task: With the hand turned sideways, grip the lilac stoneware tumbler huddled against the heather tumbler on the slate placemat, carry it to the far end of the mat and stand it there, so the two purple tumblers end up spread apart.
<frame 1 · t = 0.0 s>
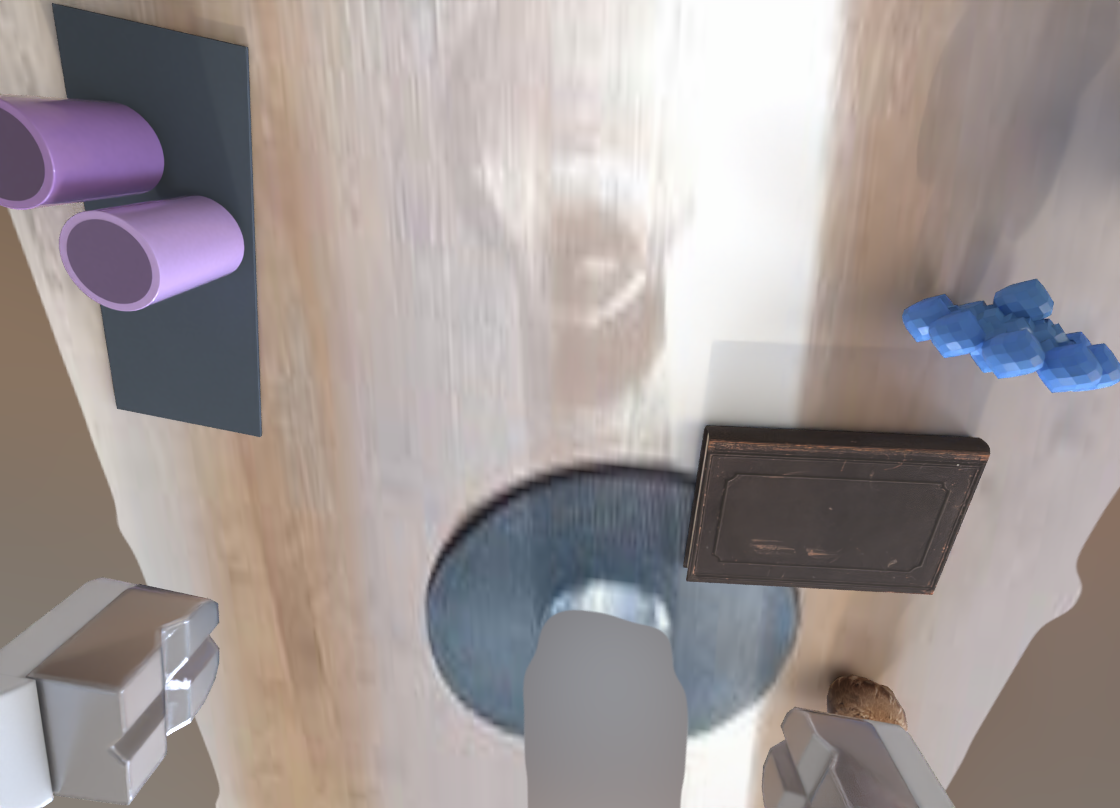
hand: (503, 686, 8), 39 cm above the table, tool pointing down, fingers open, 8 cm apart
hardcover book: (818, 503, 52), on the table
mushroom: (852, 686, 62), on the table
placemat: (174, 253, 45), on the table
grapes: (957, 303, 44), on the table
heather tumbler: (126, 148, 42), resting on placemat
lilac tumbler: (208, 236, 44), resting on placemat
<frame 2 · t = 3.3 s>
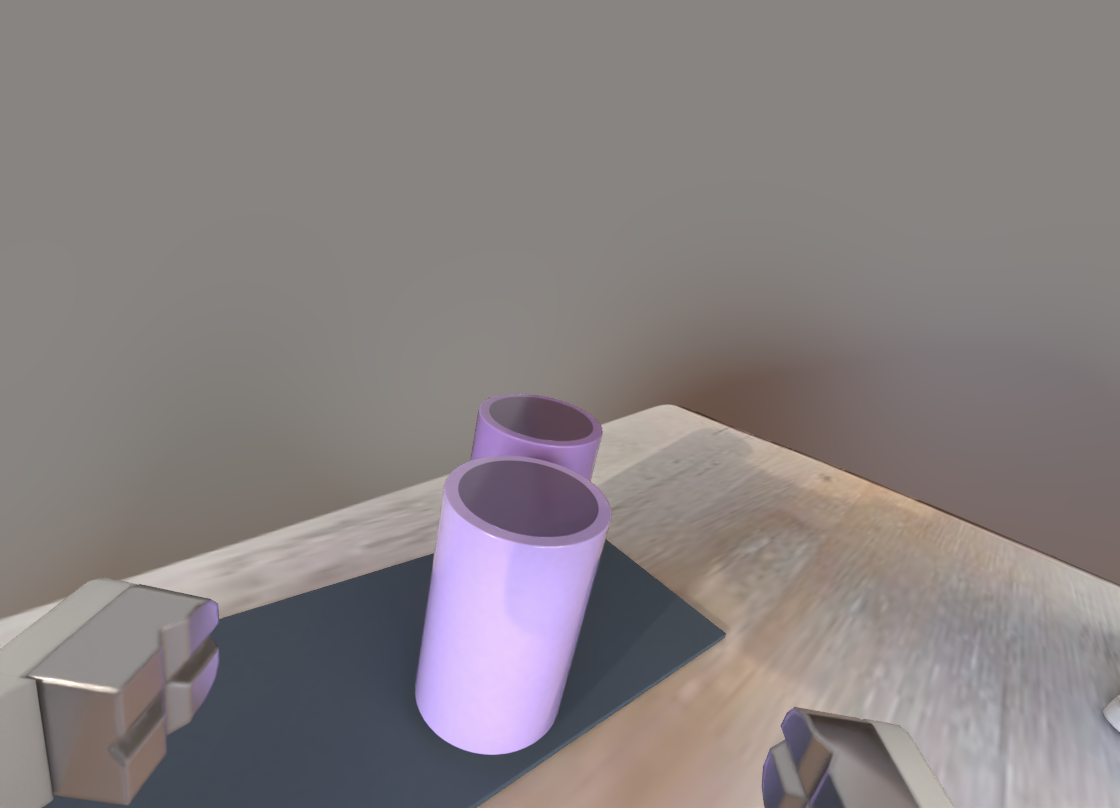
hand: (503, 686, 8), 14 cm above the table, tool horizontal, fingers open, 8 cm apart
placemat: (411, 670, 25), on the table
heather tumbler: (508, 580, 31), resting on placemat
lilac tumbler: (487, 695, 24), resting on placemat
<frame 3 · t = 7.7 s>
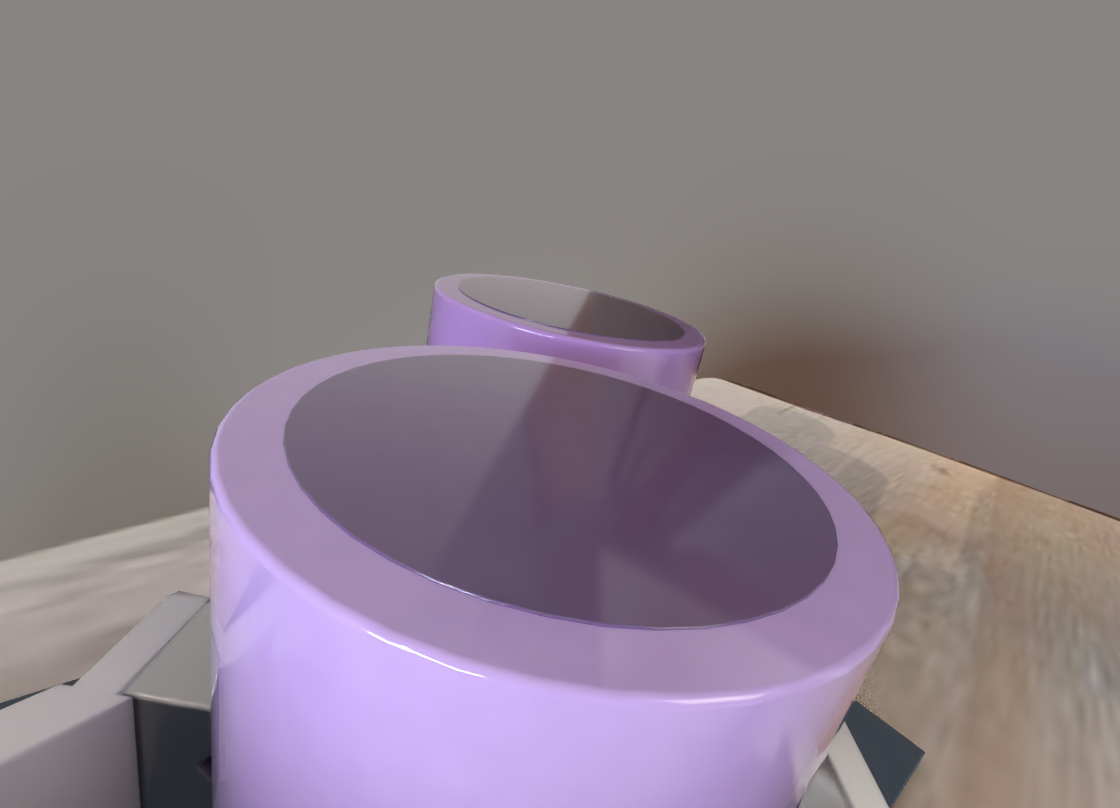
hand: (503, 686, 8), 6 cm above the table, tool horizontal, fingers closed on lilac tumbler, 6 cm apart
heather tumbler: (499, 644, 16), resting on placemat
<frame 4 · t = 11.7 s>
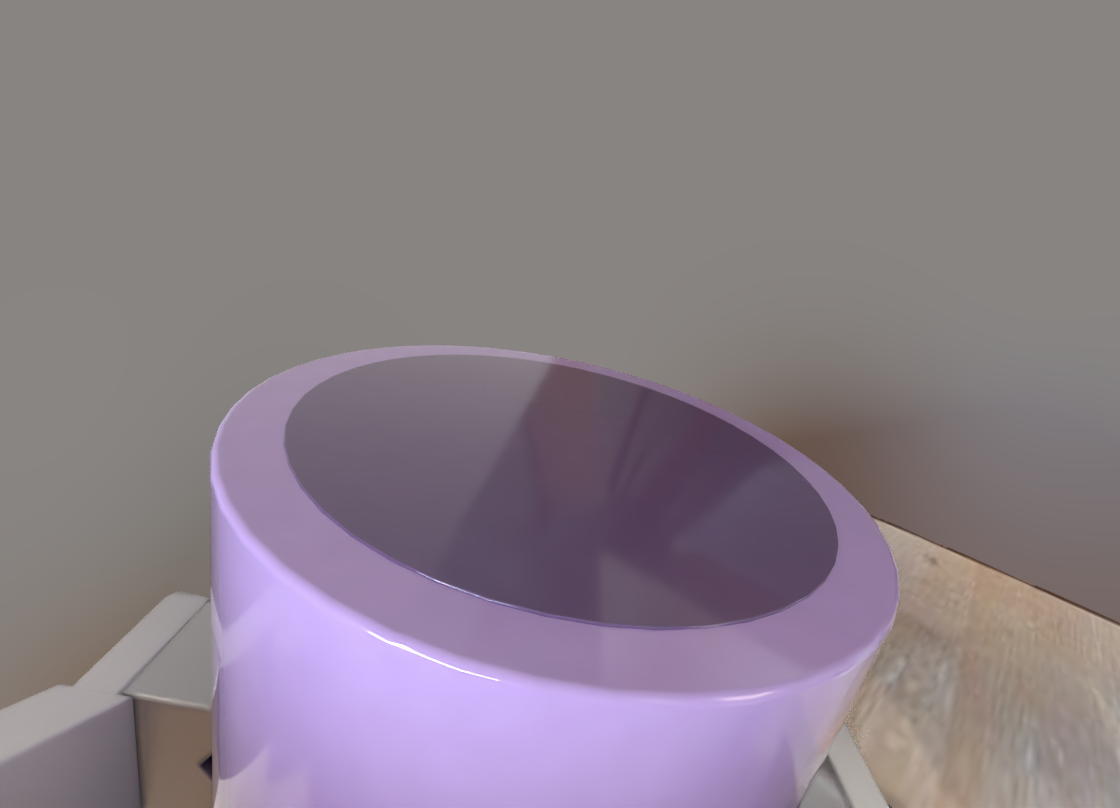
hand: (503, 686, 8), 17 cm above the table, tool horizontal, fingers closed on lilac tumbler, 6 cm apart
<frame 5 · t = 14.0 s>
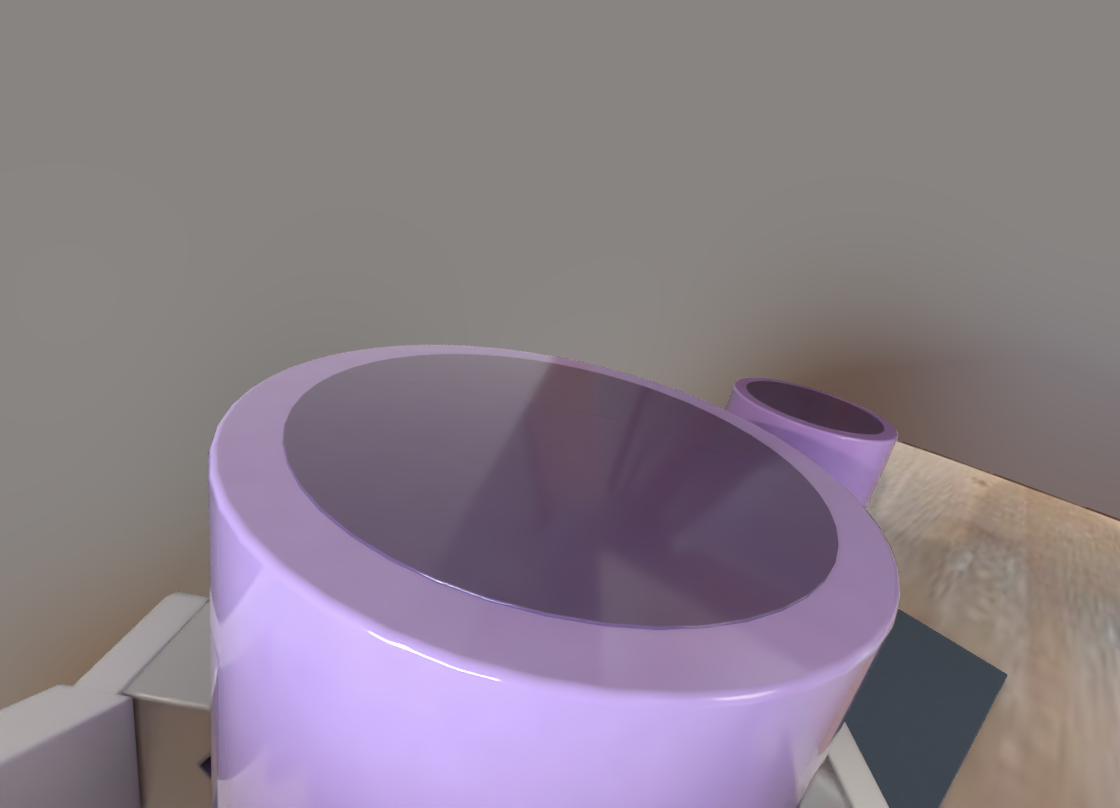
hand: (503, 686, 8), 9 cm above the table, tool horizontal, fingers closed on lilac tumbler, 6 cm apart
placemat: (683, 733, 19), on the table
heather tumbler: (734, 608, 26), resting on placemat
when the fingers open (6 cm above the table, at t = 15.6 s): lilac tumbler stays where it is, resting on placemat.
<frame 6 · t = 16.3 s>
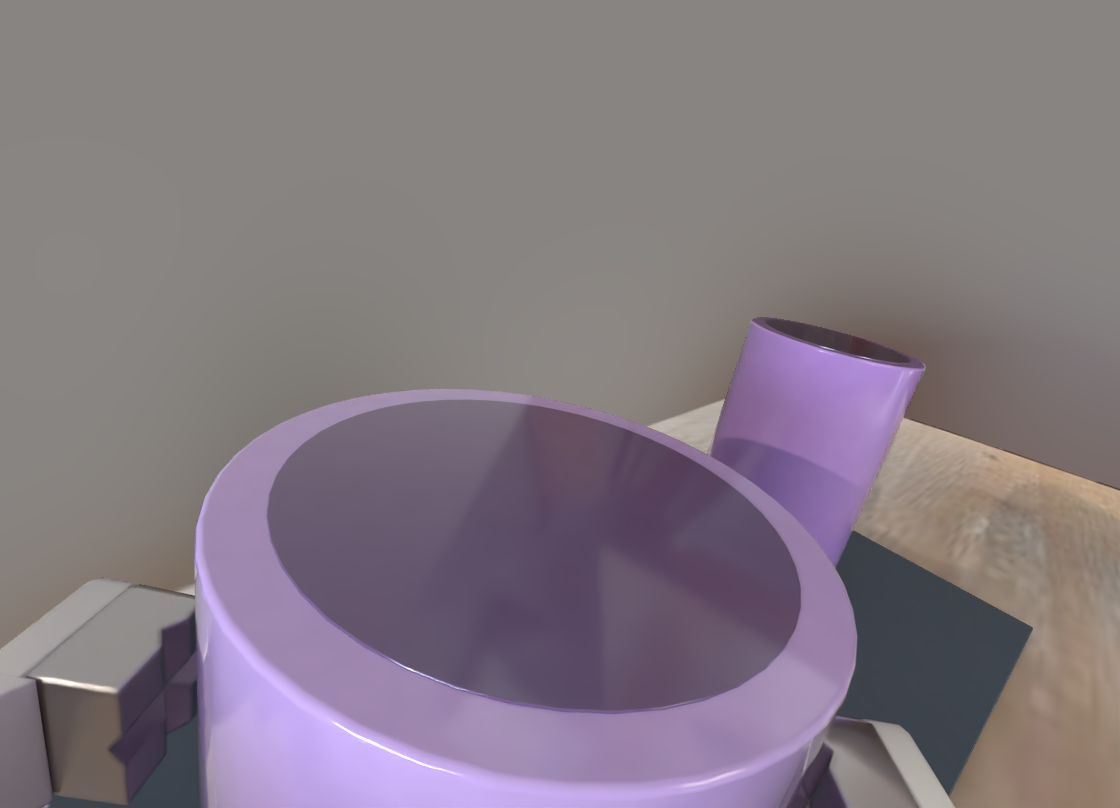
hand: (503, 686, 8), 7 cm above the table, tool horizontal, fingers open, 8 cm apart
placemat: (703, 673, 18), on the table
heather tumbler: (750, 559, 25), resting on placemat
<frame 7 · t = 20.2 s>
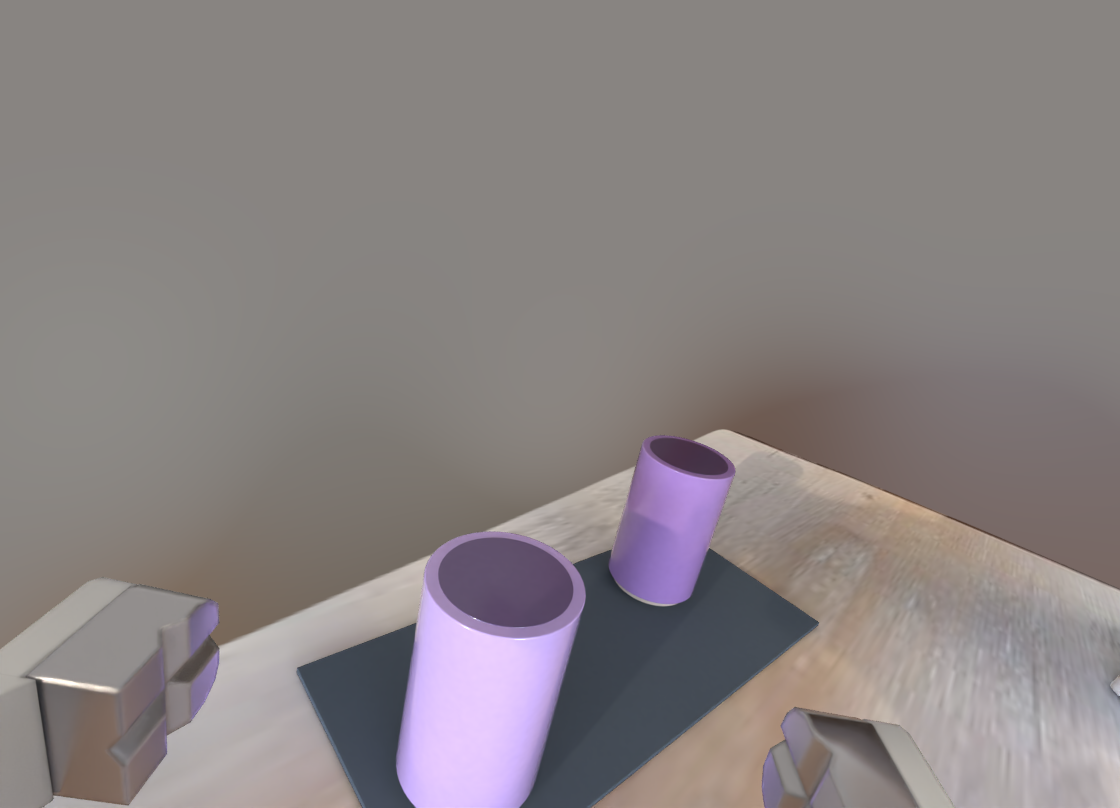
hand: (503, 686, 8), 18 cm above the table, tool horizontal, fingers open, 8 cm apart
placemat: (604, 644, 34), on the table
heather tumbler: (648, 580, 40), resting on placemat
lilac tumbler: (467, 762, 25), resting on placemat
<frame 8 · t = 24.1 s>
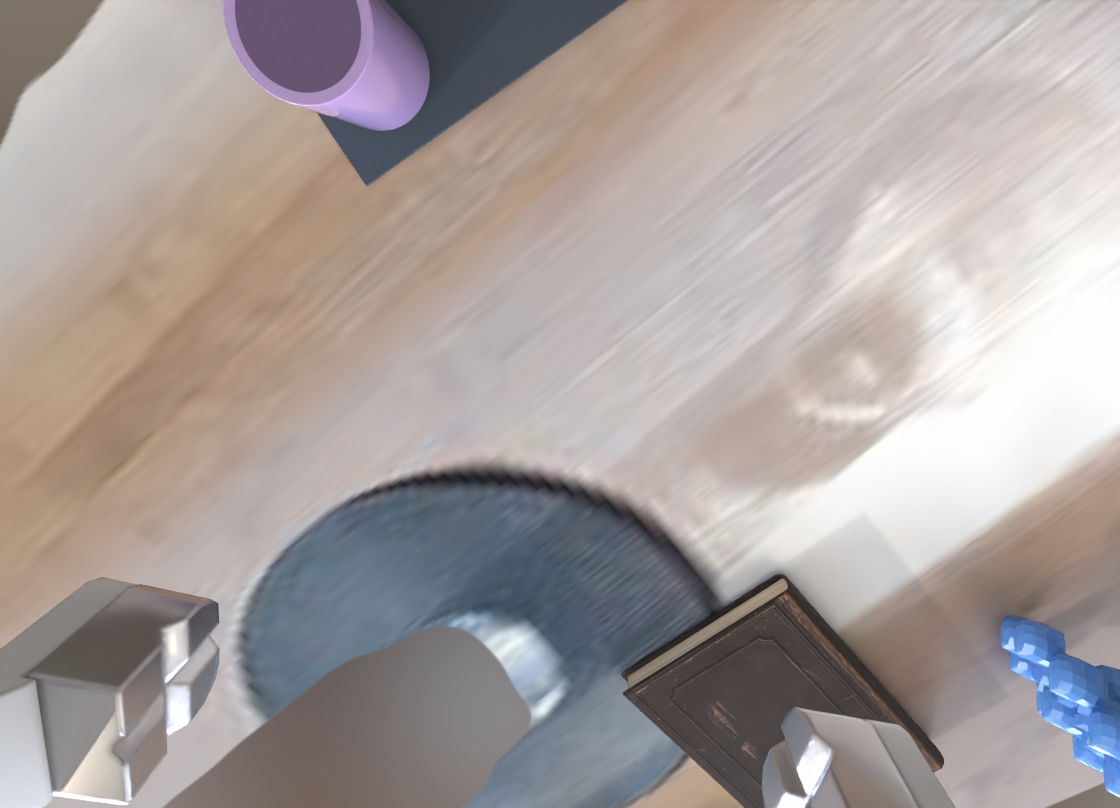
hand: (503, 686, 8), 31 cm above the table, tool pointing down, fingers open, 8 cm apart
hardcover book: (778, 705, 49), on the table
grapes: (1026, 636, 45), on the table
lilac tumbler: (378, 72, 33), resting on placemat
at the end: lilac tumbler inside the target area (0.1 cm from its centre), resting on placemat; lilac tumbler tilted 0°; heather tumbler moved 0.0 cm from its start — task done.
